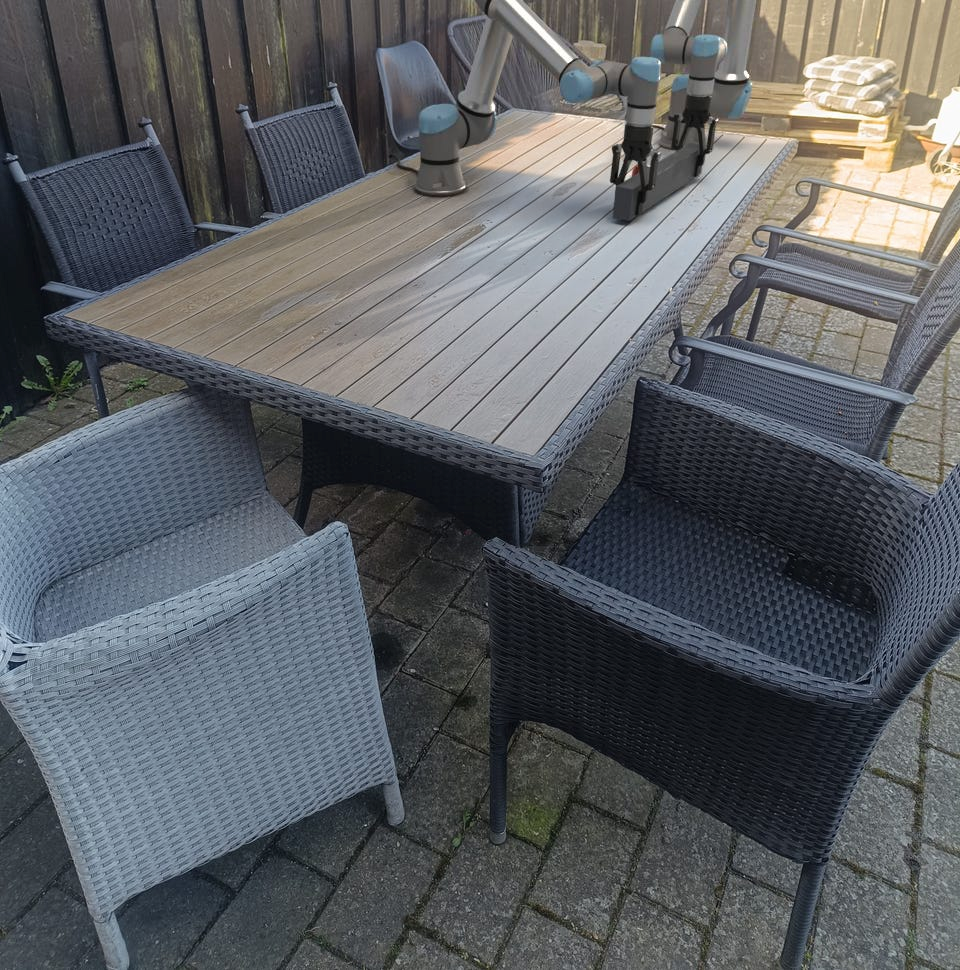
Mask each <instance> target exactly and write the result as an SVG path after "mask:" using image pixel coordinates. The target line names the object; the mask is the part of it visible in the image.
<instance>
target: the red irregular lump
mask: <svg viewBox="0 0 960 970" xmlns="http://www.w3.org/2000/svg"><path fill="white" fill-rule="evenodd" d="M648 167H649V166H648V165H647V168H648ZM638 173H639V166H638V164H637V165H635V166H634V167H633V169H632V172H631V177H633V176H634V175H636V174H638Z"/></svg>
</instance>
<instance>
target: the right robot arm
mask: <svg viewBox="0 0 960 970" xmlns="http://www.w3.org/2000/svg"><path fill="white" fill-rule="evenodd" d="M702 1H703V0H675V2H674V4H673V7H672V10H671V13H670V15H669V17H668V21H667V23H666V26H665V28H664V31H663V34H662V33H660V34H655V35H654V36H653V38H652V40H651V43H650V49H649V50H650V51H649V55H650V56H649V57H653V58H657V59H658V60H659V61H660V62H661V64H673V65H686V66H689V72H688V73H685V74H680V75H677V76H676V77H675V78H673V81H672V85H671V90H670V99H669V108H668V116H667V122H666V125H665V126H664V127H663V126H660V125H655V124H652V125H653V126H654V128H653V129H659V130H662V133H661V136H660V139H659V145H660V146H661V147H663V148H665V149H669V150H675V152H676V151H678V150H679V149H681V148H683V147H685V146H686V145H688V144H690V143H693V144H699V149H700V154H698V155H697V160H696V167H695V174H694V177H695V178H698V177H700V175H701V174H700V169H701V166H702V165H703V166H704V164H705V161H706V155H709V154H710V153H712V152H713V149H714V142H715V135H716V128H717V126H718V124H719V123H718V122H719V121H720V120H719V118H720V119H727V120H730V119H734V120H735V119H736V120H737V119H741V118H742V117H743V116H744V113H745V112H746V110H747V108H748V105H749V102H750V98H751V95H752V91H753V85H754V84H753V82H751V81H749V78H750V74H749V73H748V72H747V70H746V69H747V63H748V62H747V61H748V55H749V49H750V42H751V36H752V29H753V23H754V17H755V9H756V4H757V0H727V6H726V7H727V8H726V15H725V23H724V29H723V35H722V36H718V35H716V34H699V35H698V34H697V35H696V36H690V34H691V31H692V28H693V25H694V23H695V20H696V17H697V14H698V11H699V9H700V6H701V4H702ZM718 65H719V66H718ZM717 66H718V69H717ZM625 119H626V114H625V115H624V120H625ZM707 122H708V126H709V127H708V133H707V139H706V125H705V124H707ZM706 140H707V141H706ZM703 166H702V167H703Z"/></svg>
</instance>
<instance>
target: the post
mask: <svg viewBox="0 0 960 970" xmlns="http://www.w3.org/2000/svg"><path fill="white" fill-rule="evenodd" d="M698 154H700V149H699V144H693V143H690V144H688V145H686V146H685V147H683V148H681V149H679V150H678V151H676V150H675V151H673V153H671V154H669V155H667V156H666V157H664V158H662V159H659V161H658V169H657V178H656V186H655V188H654V189H652V190H648V195H647V201H646V202H645V203H643V210H642V213H644V212H645V211H647V210H648V209H650V208H651V207H653V206H654V205H657V203H659V202H660V201H662V200H663V199H665V198H667V197H668V196H669V195H671V194H672V193H675V191H678V189H680V188H681V187H684V185H686V184H688V183H689V182H691V181H692V180H694V179H695V178H696V177H694V174H695V167H696V160H697V155H698ZM703 166H704V165H702V166H701V169H700V175H702V174H703V173H702V172H703ZM647 172H648V181H649V173H650V166H648V168H647ZM614 189H615V190H614V197H613V199H614V200H613V207H612V208H613V210H612V218H613V219H617V220H623V221H627V222H630V221H632V220H633V219H635V218H636V217H638V216H639V215H636V208H637V199H638V191H640V190H641V182H640V173H638V174H636V175H634V176H633V177H632V176H631V177H629V178H627V179H625V180H624V182H622V183H621V184H619V185H617V186H616V185H615V187H614Z"/></svg>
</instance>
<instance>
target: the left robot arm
mask: <svg viewBox="0 0 960 970" xmlns="http://www.w3.org/2000/svg"><path fill="white" fill-rule="evenodd" d="M535 1H536V0H474V2H475V3H476V5H477V7H479V9H480V10H481V11H482V12H483V14H484V15H485V16H486V18H485V21H484V24H483V28H482V31H481V34H480V39H479V41H478V45H477V48H476V51H475V55H474V58H473V61H472V65H471V69H470V72H469V76H468V79H467V84H466V85H465V89H464V90H461V91H460V92H459V93H458V95H457V99H456V102H455V104H453V103H452V104H451V103H439V104H431V105H429V106H426V107H424V108H423V109H422V110H421V111H420V112H419V114H418V115H419V116H418V126H417V127H418V137H419V138H418V139H419V157H420V158H419V159H420V161H419V162H420V164H419V168H418V169H416V168H414V167H410V166H406V165H402V164H401V159H400V158H399V156H397V154H395V153H393V152H392V153H389V155H388V159H392V158H394V159H395V160H396V166H397V168H399V169H401V170H406V171H410V172H412V173H415V174H416V175H417V176H416V180H415V185H414V186H415V192H417V193H418V194H420V195H424V196H430V197H450V196H455V195H459V194H461V193H463V192H464V191H466V181H465V179H464V176H463V172H462V169H461V165H460V150H462V149H465V148H469V147H472V146H477V145H480V144H482V143H483V144H484V143H485V142H487V141H488V140H489V139H491V138H492V137H493V135H494V134H495V132H496V129H497V126H498V118H497V117H496V116H497V111H496V110H495V109H496V105H495V103H494V100H493V99H494V96H495V94H496V90H497V87H498V84H499V81H500V77H501V75H502V71H503V69H504V66H505V62H506V59H507V56H508V53H509V50H510V48H511V44H512V41H513V38H514V39H515V40H516V41H517V42H518V43H519V44H520V45H521V46H522V47H523V48H524V49H525V50H526V51H527V52H528V53H529V54H530V55H531V56H532V57H533V58H534V59H535V60H536V61H537V62H538V63H539V64H540V66H542V67H543V68H544V70H546V71H547V72H548V74H550V76H552V77H553V78H554V79H555V80H556V82H558V83H559V90H560V95H561V97H562V99H563V100H564V101H565V102H567V103H569V104H580V103H581V104H582V103H587V101H591V100H594V99H597V98H602V97H606V96H608V95H614V96H621V97H626V98H627V101H626V112H625V115H626V119H625V118H624V120H625V122H626V123H625V124H624V129H623V130H624V131H623V140H622V142H621V143H616V144H614V145H612V146H611V152H612V159H611V160H612V161H611V169H610V177H609V182H610V184H612V185H615V187H616V186H617V185H619V184H621V183H622V182H624V181H626V178H627V174H628V172H629V168H630V166H631V163H632V161H635V162H636V163H637V165H638V166H639V173H640V182H641V190H640V191H638V199H637V208H636V215H638V216H640V215H642V214H643V212H642V210H643V203H645V202H646V201H647V195H648V190H652V189H654V188H655V186H656V178H657V169H658V162H659V161H660V158H661V156H662V151H661V150H656V149H654V148H653V144H652V143H653V136H654V129H655V128H654V126H653V125H654V123H655V119H656V111H657V100H658V94H659V87H660V81H661V70H662V69H661V68H662V63H661V62H660V61H659V60H658V59H657V58H653V57H651V56H636V57H633V58H632V60H631V63H622V62H618V61H611V60H609V59H605V60H602V59H596V60H594V61H593V62H592V64H591V65H589V66H588V65H587V64H586V63H585V62H584V61H583V60H582V59H581V58H579V56H578V55H577V54H576V53H575V52H574V51H573V50H572V49H571V48H570V47H569V46H568V45H567V44H566V43H565V42H564V41H563V40H562V39H561V38H560V37H559V35H557V34H556V33H555V32H554V31H553V30H552V29H551V28H550V27H549V25H547V24H546V22H545V21H543V20H542V19H541V18H540V17H539V16H538V15H537V14H536V13H535V12H534V11H533V10H532V9H531V7H529V6H530V4H532V3H534V2H535ZM622 151H623V153H624V157H623V161H622V164H621V156H622V155H621V154H622ZM649 155H650V164H649V167H650V173H649V181H648V172H647V166H648V165H647V164H648V156H649ZM620 164H621V168H620Z"/></svg>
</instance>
